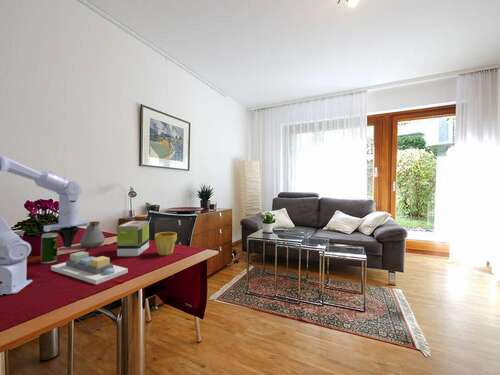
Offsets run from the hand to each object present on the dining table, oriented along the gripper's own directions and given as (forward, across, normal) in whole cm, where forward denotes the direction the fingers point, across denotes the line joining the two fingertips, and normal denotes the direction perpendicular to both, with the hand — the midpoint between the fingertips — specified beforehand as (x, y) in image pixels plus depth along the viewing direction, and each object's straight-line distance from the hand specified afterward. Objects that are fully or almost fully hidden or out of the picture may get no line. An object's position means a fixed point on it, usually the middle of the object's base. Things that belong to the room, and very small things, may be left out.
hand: (67, 246), depth 87 cm
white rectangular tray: (+9, +4, -8) cm, 13 cm away
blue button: (+8, +4, -8) cm, 11 cm away
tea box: (+10, +29, -1) cm, 31 cm away
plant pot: (+10, +35, -16) cm, 39 cm away
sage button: (+6, +3, -1) cm, 7 cm away
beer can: (+10, +2, +18) cm, 20 cm away
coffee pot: (+10, +23, +23) cm, 34 cm away
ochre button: (+6, +4, -14) cm, 16 cm away
